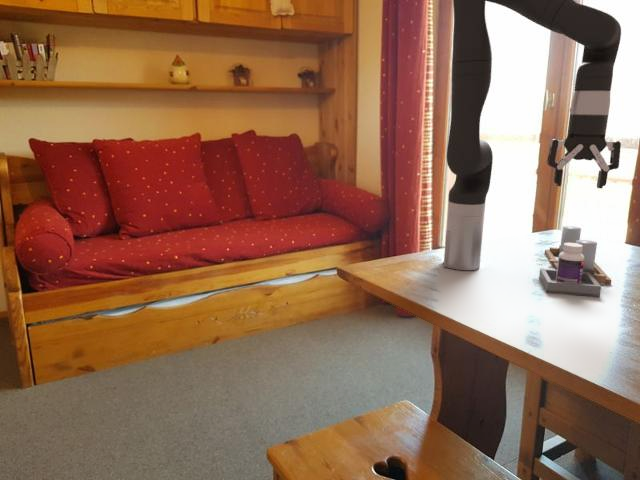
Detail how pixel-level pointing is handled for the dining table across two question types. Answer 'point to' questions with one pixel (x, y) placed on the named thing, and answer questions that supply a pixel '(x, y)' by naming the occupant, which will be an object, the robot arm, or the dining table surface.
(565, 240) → the fuse
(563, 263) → the pill bottle
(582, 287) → the tray
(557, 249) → the brown wooden flat rack
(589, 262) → the block
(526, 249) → the dining table surface
